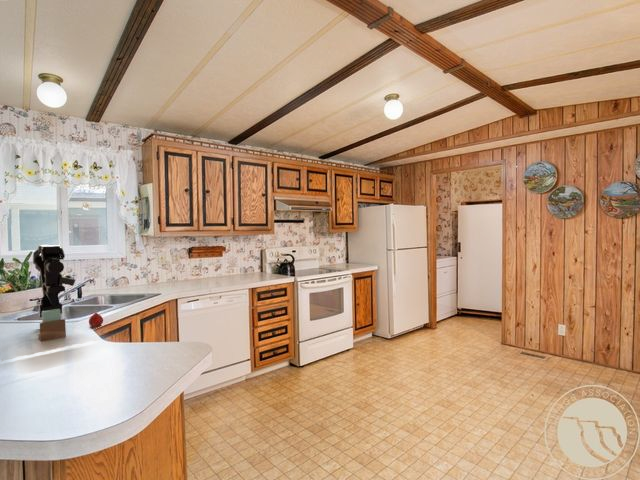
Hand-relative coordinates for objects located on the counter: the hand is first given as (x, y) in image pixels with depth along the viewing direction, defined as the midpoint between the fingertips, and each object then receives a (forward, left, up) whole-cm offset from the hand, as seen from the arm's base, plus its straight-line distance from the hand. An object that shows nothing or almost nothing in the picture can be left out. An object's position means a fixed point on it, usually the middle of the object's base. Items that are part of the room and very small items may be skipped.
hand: (54, 305), depth 161 cm
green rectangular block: (+14, -3, -12) cm, 18 cm away
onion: (+7, +15, -13) cm, 21 cm away
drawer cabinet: (+10, -3, -13) cm, 17 cm away
